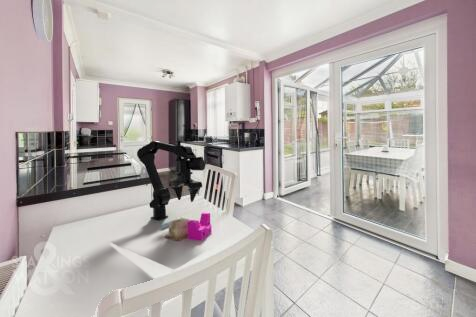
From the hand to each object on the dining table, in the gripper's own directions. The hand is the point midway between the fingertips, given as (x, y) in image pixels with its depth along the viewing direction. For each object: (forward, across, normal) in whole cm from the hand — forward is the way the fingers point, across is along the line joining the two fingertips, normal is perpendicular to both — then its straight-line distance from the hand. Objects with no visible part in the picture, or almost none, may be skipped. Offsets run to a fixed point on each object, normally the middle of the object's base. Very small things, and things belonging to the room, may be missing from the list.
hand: (185, 200), depth 107 cm
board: (+12, +10, -12) cm, 19 cm away
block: (+11, +10, -12) cm, 19 cm away
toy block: (+12, +16, -5) cm, 21 cm away
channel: (+12, 0, -6) cm, 13 cm away
